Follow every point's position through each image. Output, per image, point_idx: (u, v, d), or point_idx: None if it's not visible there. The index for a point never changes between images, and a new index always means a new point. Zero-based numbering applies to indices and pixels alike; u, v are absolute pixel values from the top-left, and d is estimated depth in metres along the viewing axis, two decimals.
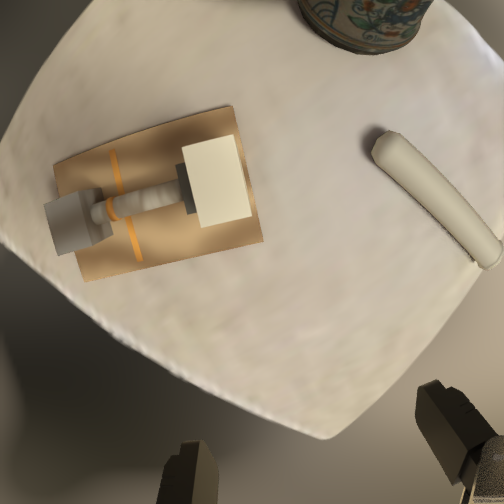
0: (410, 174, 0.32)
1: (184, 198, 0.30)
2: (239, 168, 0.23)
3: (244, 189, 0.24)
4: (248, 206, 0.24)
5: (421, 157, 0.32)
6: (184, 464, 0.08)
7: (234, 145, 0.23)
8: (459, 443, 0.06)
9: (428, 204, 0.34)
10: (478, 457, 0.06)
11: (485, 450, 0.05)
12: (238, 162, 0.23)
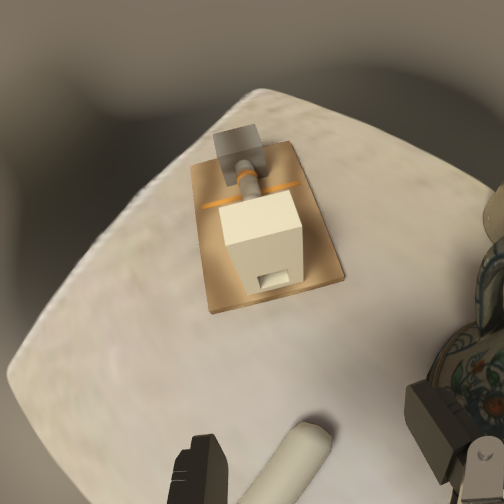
0: (280, 464, 0.24)
1: None
2: (270, 233, 0.26)
3: (250, 238, 0.26)
4: (234, 242, 0.26)
5: (304, 477, 0.23)
6: (196, 458, 0.09)
7: (291, 227, 0.26)
8: (445, 443, 0.07)
9: (246, 493, 0.24)
10: (464, 457, 0.06)
11: (471, 451, 0.06)
12: (275, 231, 0.26)
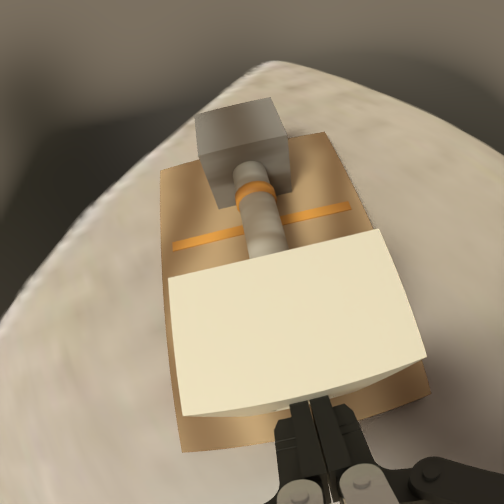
0: None
1: None
2: (329, 384, 0.07)
3: (263, 399, 0.07)
4: (211, 408, 0.07)
5: None
6: (300, 423, 0.09)
7: (397, 363, 0.07)
8: (326, 462, 0.07)
9: None
10: None
11: (344, 486, 0.06)
12: (347, 379, 0.07)
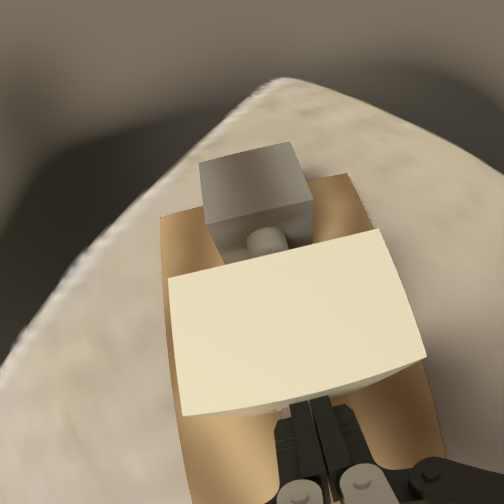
0: None
1: None
2: (329, 384, 0.07)
3: (263, 399, 0.07)
4: (211, 408, 0.07)
5: None
6: (300, 423, 0.09)
7: (397, 363, 0.07)
8: (326, 463, 0.07)
9: None
10: None
11: (343, 486, 0.06)
12: (347, 380, 0.07)
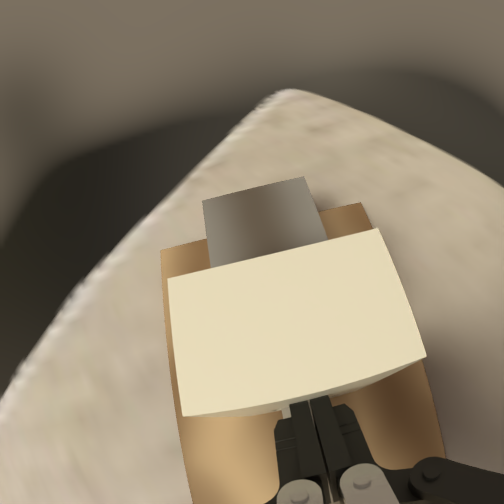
0: None
1: None
2: (329, 384, 0.07)
3: (263, 399, 0.07)
4: (211, 409, 0.07)
5: None
6: (300, 423, 0.09)
7: (396, 363, 0.07)
8: (326, 462, 0.07)
9: None
10: None
11: (344, 486, 0.06)
12: (347, 379, 0.07)
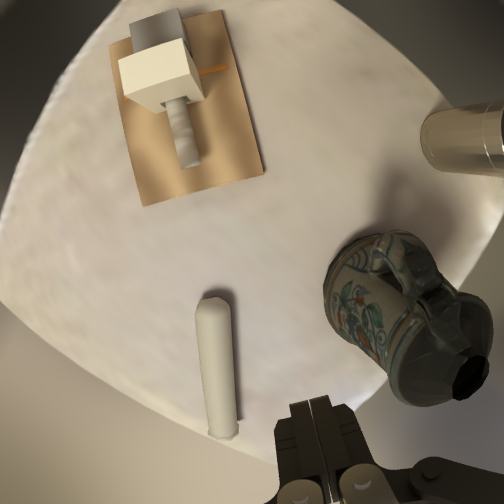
0: (204, 339, 0.41)
1: None
2: (161, 80, 0.25)
3: (144, 86, 0.25)
4: (131, 91, 0.25)
5: (223, 339, 0.41)
6: (300, 423, 0.09)
7: (180, 75, 0.24)
8: (326, 463, 0.07)
9: (200, 363, 0.43)
10: None
11: (343, 485, 0.06)
12: (166, 79, 0.25)
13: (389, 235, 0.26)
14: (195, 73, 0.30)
